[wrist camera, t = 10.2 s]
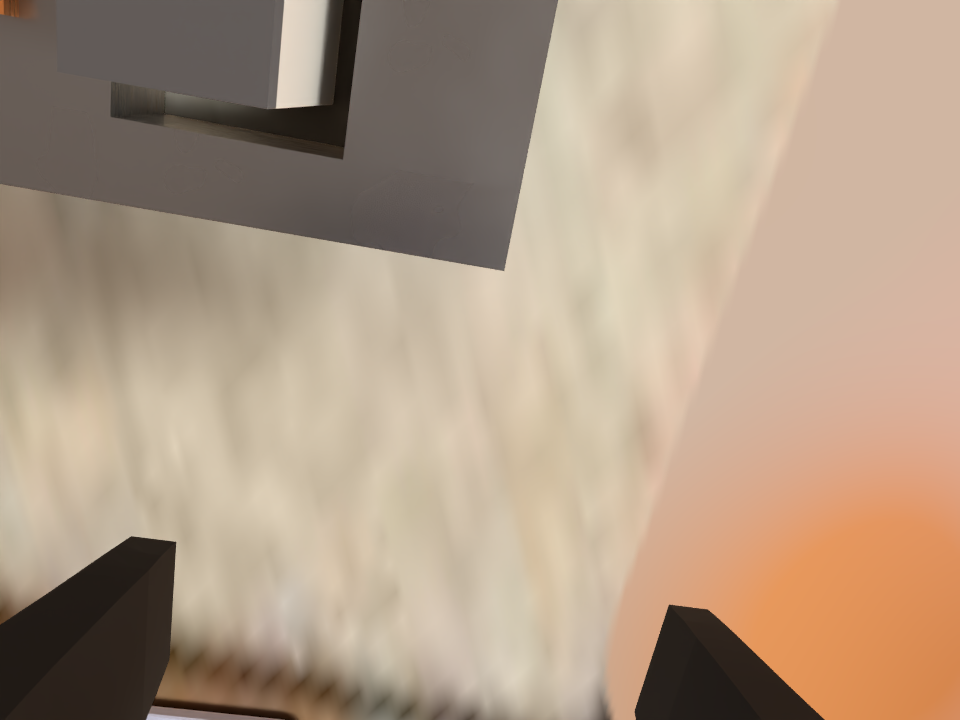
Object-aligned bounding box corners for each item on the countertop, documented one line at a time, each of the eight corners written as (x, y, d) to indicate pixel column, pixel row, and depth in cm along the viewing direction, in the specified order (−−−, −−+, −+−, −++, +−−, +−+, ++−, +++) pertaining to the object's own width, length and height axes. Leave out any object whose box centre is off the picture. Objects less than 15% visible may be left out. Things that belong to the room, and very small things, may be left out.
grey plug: (332, 104, 18) (266, 109, 11) (204, 81, 17) (57, 71, 11) (347, -35, 17) (284, -122, 10) (211, -62, 16) (53, -170, 10)
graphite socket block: (494, 244, 19) (506, 276, 16) (1, 157, 18) (-101, 172, 14) (563, -111, 16) (593, -164, 13) (-9, -243, 15) (-137, -339, 12)
